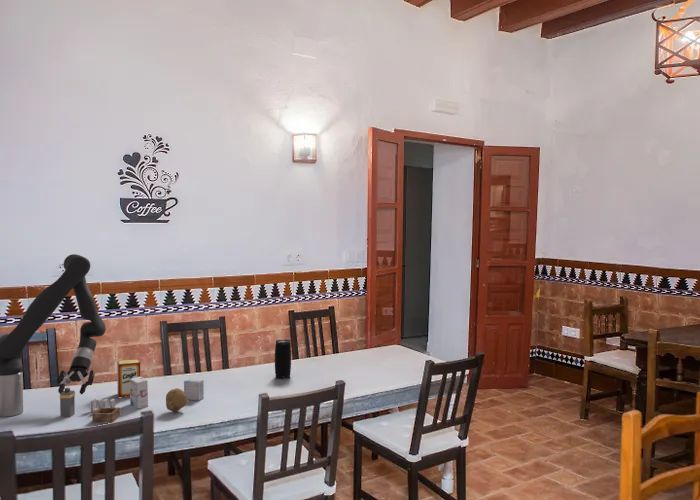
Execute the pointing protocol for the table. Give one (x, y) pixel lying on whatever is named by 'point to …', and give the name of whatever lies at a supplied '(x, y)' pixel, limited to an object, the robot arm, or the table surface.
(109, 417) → the open wooden box
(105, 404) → the clip
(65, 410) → the gray square bottle
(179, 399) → the natural sponge
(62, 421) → the table surface
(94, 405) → the clip
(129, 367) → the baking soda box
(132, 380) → the ink box
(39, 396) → the table surface
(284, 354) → the portable speaker
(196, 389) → the medicine box
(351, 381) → the table surface
